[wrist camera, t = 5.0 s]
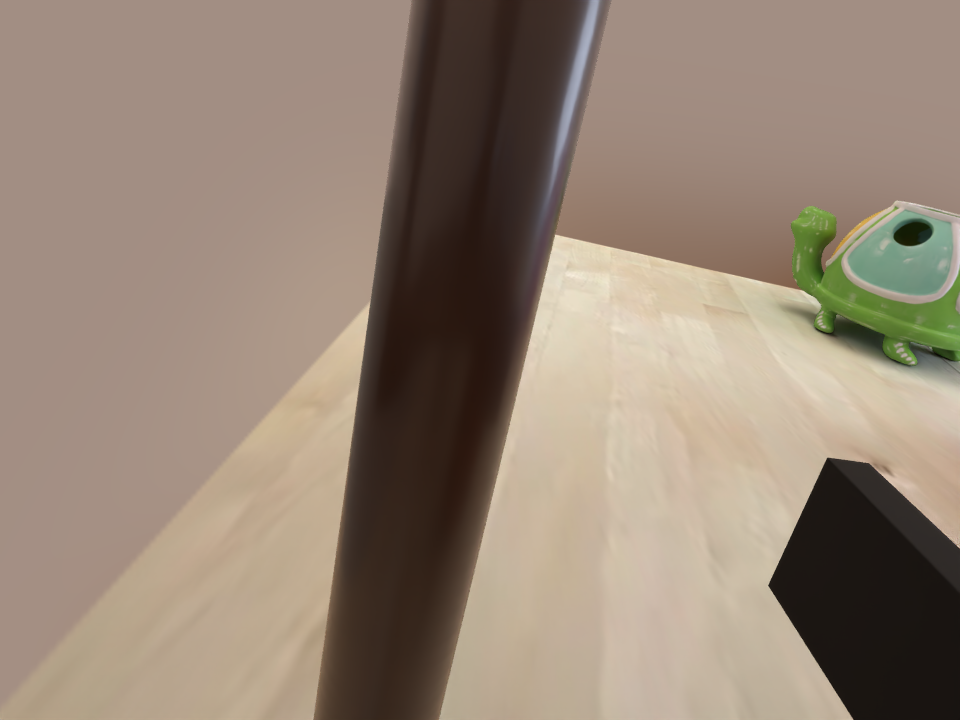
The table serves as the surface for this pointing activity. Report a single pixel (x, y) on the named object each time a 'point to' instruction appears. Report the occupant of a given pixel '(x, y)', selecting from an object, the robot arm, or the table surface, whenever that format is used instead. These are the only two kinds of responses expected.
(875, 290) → the turtle holder
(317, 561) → the table surface
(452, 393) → the peg on round base
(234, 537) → the table surface
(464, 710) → the table surface
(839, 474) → the robot arm
